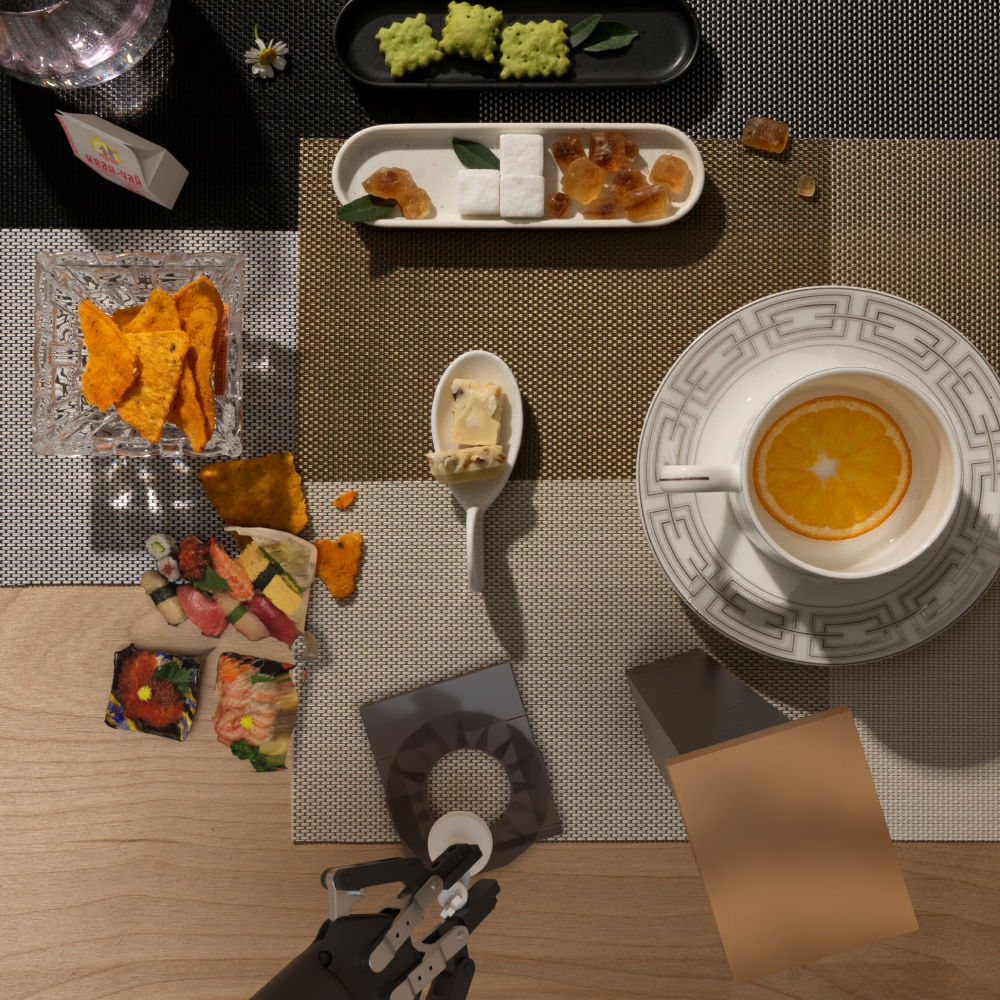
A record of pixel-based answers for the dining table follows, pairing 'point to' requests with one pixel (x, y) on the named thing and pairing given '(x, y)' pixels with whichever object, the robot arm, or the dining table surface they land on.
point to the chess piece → (457, 831)
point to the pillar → (694, 705)
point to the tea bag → (125, 157)
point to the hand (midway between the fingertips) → (481, 866)
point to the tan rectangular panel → (791, 844)
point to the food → (235, 599)
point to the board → (453, 726)
